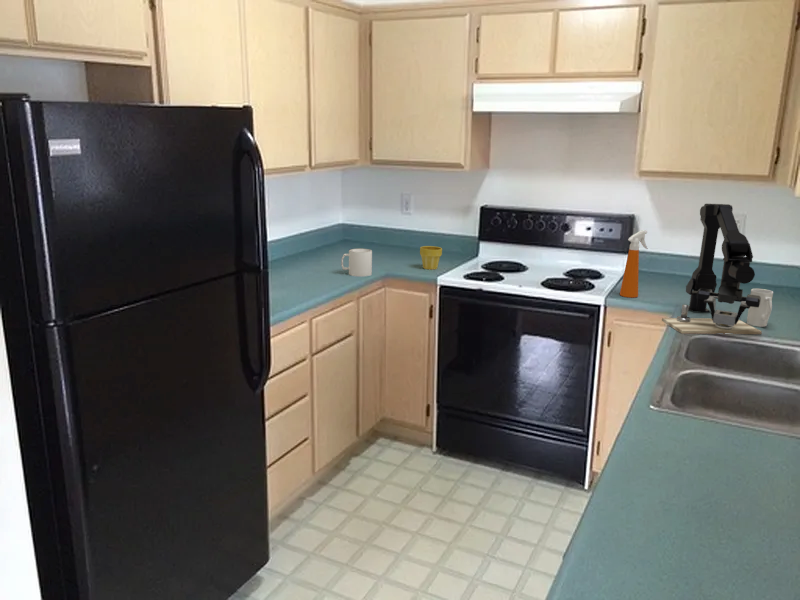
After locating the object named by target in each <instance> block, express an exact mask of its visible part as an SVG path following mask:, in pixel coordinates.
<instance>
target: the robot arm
mask: <svg viewBox="0 0 800 600" xmlns="http://www.w3.org/2000/svg"><path fill="white" fill-rule="evenodd" d="M733 210H734V209H733V205H731V204H726V203H704V205H702V206H701V208H700V209H699V215H700V222H701V224H702V226H703V233H702V238H701V247H700V252H699V253H700V254H699V260H698V266H697V268H696V269H695V270H694V271H693V272H692V274H691V278H690V279H689V281H688V283H687V284H686V285H685V292H686V293H687V294H688V295H690V299H689V304H688V305H689V307H688V311H691V312H693V313H694V312H695V313H699V312H700V313H710V314H711V319H712V320H713V317H714V313H715V312H716V303H717V302H719V303H726V304H727V303H728V304H731V305H732V304H734V303H735V302H739V303H740V304H739V307H738V310H737V317H736V320H735V324H737V322H738V320H740V318H741V316H742V315H743V313H744V312H745V310H746V309H749V308H750V306H751V307H759V305H760V301H761V297H760V296H757V295H750V294H747V295H746V296H743V291H744V290H743V289H742V288H741V289H740V287H741V284H744V285H745V284H749V283H750V282H753V280H754V278H755V276H756V274H755V273H756V272H755V270H754V268H753V267H752V266H751V263H753V258H754V255H753V251H752V248H751V243H750V242H749V240H748V238H747V236H746V235H744V234H743V233H741V232H740V230H739V227H738V224H737V221H736V218H735V216H734V214H733ZM719 229H720V230H721V234H722V236H723V241H722V243H721V252H722V256H723V259H722V261H723V265H722V273H721V279H720V285H719V288H718V292H716V289H717V285H718V283H717V275H716V274H715V272H714V270H713V266H714V261H715V254H716V246H717V240H718V233H719ZM716 301H717V302H716ZM707 305H708V307H709V309H708V308H707Z"/></svg>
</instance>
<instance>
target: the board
mask: <svg viewBox="0 0 800 600" xmlns="http://www.w3.org/2000/svg"><path fill="white" fill-rule="evenodd" d="M690 318H691V320H690V322H680V321H677V317H661V322H663V323H664V324H666V325H668V326H669V327H671V328H672V329H673V330H675V331H677V332H678V333H680V334H683V335H685V334H688V335H690V334H691V335H696V334H697V335H698V334H699V335H717V334H716V333H723V334H722V335H726V334H725V333H733V334H732V335H762V330H760V329H758V328H757V327H755V326H752V325H749V324H747V322H744V321H742V320H740V319H739V320H738V322H737V324H735V325H734V326H733V328H732V329H731V330H724V329H719V328H716V327H715V324H716V323H713V320H712V317H710V318H705V317H704V318H703V317H702V318H697V317H696V318H692V317H690Z"/></svg>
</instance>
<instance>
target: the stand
mask: <svg viewBox="0 0 800 600" xmlns="http://www.w3.org/2000/svg"><path fill="white" fill-rule="evenodd" d="M688 307H689V304H682V306H681V311H680V312H681V313H680V315H678V316H677V317H676V318H677V321H680V322H690V320H691V318H692V317H688V313H689V309H688Z"/></svg>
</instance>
